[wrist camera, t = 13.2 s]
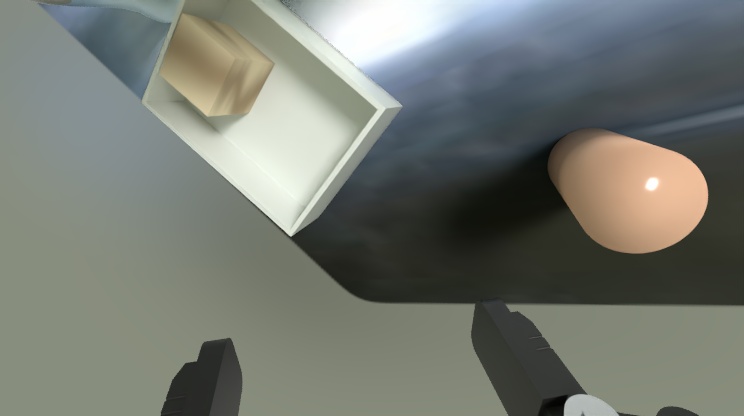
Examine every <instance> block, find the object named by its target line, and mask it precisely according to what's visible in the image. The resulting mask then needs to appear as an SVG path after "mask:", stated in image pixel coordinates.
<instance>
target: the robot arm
mask: <svg viewBox="0 0 744 416" xmlns="http://www.w3.org/2000/svg"><path fill="white" fill-rule="evenodd" d="M471 338H472V343H473V347H474V349H475V352H476V354H477V356H478V358H479V360H480V362H481V363H482V365H483V367H484V369H485V371H486V373H487V375H488V377H489V379H490V381H491V383H492V385H493V387H494V389H495V390H496V392H497V394H498V396H499V398H500V400H501V402H502V404H503V406H504V408H505V410H506V411H507V414H508V415H509V416H637V415H630V414H623V413H618V412H616V411H615V410H613V408H611V407H610V406H609V405H608V404H606V403H605V402H603V401H602V400H600V399H598V398H595V397H593V396H589V395H588V394H587V393H586V392H585V391H584V390H583V389H582V387H581V386H580V385H579V384H578V382H577V381H576V379H575V378H574V377H573V376H572V374H571V373H570V372H569V370H568V369H567V368H566V367H565V365H564V364H563V362H562V361H561V360H560V358H559V357H558V356H557V354H556V353H555V352H554V350H553V349H551V348H550V345H549V344H548V342H547V341H546V340H545V338H543V337H542V334H541V333H540V332H539V330H538V329H537V328H536V326H535V325H534V324H533V323H532V322H531V321H530V320H529V319H527V318H526V317H525V316H523V315H522V314H521V313H519V312H518V311H517V312H510V311H509V309H508V308H507V306H506V305H505V303H504V302H503V301H502V300H501V299H500V298H495V299H488V300H482V301H477V302H476V304H475V311H474V317H473V324H472V331H471ZM241 392H242V372H241V368H240V365H239V361H238V358H237V355H236V352H235V349H234V345H233V342H232V340H231V339H230V338H227V339H221V340H214V341H207V342H204V343H203V344H202V347H201V350H200V353H199V356H198V360H197V362H190V363H185V365H184V366H183V367H182V368H181V370H180V371H179V372H178V373H177V375H176V376H175V377H174V379H173V380H172V383H171V386H170V389H169V391H168V394H167V397H166V401H165V403H164V405H163V408H162V411H161V416H238V411H239V405H240V399H241ZM656 416H698V415H697V414H695V413H693V412H691V411H689V410H686V409H683V408H679V407H673V406H672V407H664V408H662V409H660V411H659V412H658V413H657V415H656Z"/></svg>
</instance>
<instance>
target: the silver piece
mask: <svg viewBox="0 0 744 416" xmlns="http://www.w3.org/2000/svg"><path fill="white" fill-rule="evenodd" d="M26 1H31V2H37V3H43V4H49V5H61V6H75V7H108V8H121V9H127V10H131V11H135V12H137V13H140V14H142V15H144V16H147V17H149V18H151V19H153V20H156V21H158V22H162V23H172V20H173V18H174V15H175V12H176V10H177V7H178V5H179V2H180V0H26Z"/></svg>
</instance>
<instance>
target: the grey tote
mask: <svg viewBox="0 0 744 416" xmlns="http://www.w3.org/2000/svg"><path fill="white" fill-rule="evenodd" d="M182 13H185V14H189V15H192V16H196V17H200V18H204V19H208V20H212V21H215V22H219V23H223V24H227V25H230V26H232V27H233V28H234V29H235V30H236V31H237V32H239V33H240V34H241V35H242V36H243V37H244V38H246V39H247V40H248V41H249V42H250V43H252V44H253V45H254V46H255V47H256V48H257V49H259V50H260V51H261V52H262V53H263V54H264V55H266V56H267V57H268V58H269V59H270V60H271V61H273V62H274V63H275V65H274V67H273V69H272V71H271V73H270V74H269V76H268V78H267V80H266V82H265V84H264V86H263V88H262V89H261V91H260V93H259V95H258V97H257V99H256V101H255V103H254V104H253V106H252V108H251V110H250V112H249V113H245V114H232V115H220V116H206V115H205V114H204V113H203V112H202V111H201V110H200V109H198V108H197V107H196V106H195V105H194V104H193V103H191V102H190V101H189V100H188V99H187V98H186V97H185V96H183V95H182V94H181V93H180V92H179V91H178V90H177V89H175V88H174V87H173V86H172V85H171V84H170V83H169V82H167V81H166V80H165V79H164V78H163V77H162V76H161V75H159V73H160V71H161V68H162V65H163V63H164V60H165V57H166V55H167V52H168V50H169V47H170V44H171V42H172V39H173V36H174V34H175V31H176V29H177V26H178V23H179V21H180V18H181V15H182ZM141 103H142V104H143V105H144V106H145V107H146V108H147V109H149V110H150V111H151V112H152V113H153V114H154V115H155V116H156V117H158V118H159V119H160V120H161V121H162V122H163V123H164V124H165V125H166V126H168V127H169V128H170V129H171V130H172V131H173V132H174V133H175V134H177V135H178V136H179V137H180V138H181V139H182V140H183V141H184V142H186V143H187V144H188V145H189V146H190V147H191V148H192V149H193V150H194V151H196V152H197V153H198V154H199V155H200V156H201V157H202V158H203V159H205V160H206V161H207V162H208V163H209V164H210V165H211V166H212V167H213V168H215V169H216V170H217V171H218V172H219V173H220V174H221V175H222V176H224V177H225V178H226V179H227V180H228V181H229V182H230V183H231V184H232V185H234V186H235V187H236V188H237V189H238V190H239V191H240V192H241V193H243V194H244V195H245V196H246V197H247V198H248V199H249V200H250V201H251V202H253V203H254V204H255V205H256V206H257V207H258V208H259V209H260V210H262V211H263V212H264V213H265V214H266V215H267V216H268V217H269V218H270V219H272V220H273V221H274V222H275V223H276V224H277V225H278V226H279V227H281V228H282V229H283V230H284V231H285V232H286V233H287V234H288V235H289V236H293V235H294V234H296V233H297V232H298V231H300V230H301V229H303V228H304V227H305V226H307V225H308V224H310V223H311V222H312V221H314V220H315V219H317V218H318V217H319V216H320V215H321V213H322V212H323V211H324V209H325V208H326V207H327V205H328V204H329V203H330V201H331V200H332V199H333V197H334V196H335V195H336V194H337V192H338V191H339V190H340V188H341V187H342V186H343V184H344V183H345V182H346V180H347V179H348V178H349V177H350V175H351V174H352V173H353V171H354V170H355V169H356V167H357V166H358V165H359V163H360V162H361V161H362V160H363V158H364V157H365V156H366V154H367V153H368V152H369V150H370V149H371V148H372V146H373V145H374V144H375V143H376V141H377V140H378V139H379V137H380V136H381V135H382V133H383V132H384V131H385V129H386V128H387V127H388V125H389V124H390V123H391V122H392V120H393V119H394V118H395V116H396V115H397V114H398V112H399V111H400V110H401V108H402V107H403V106H402V105H401V104H400V103H399V102H398V101H397V100H395V99H394V98H393V97H392V96H391V95H390V94H388V93H387V92H386V91H385V90H384V89H383V88H381V87H380V86H379V85H378V84H377V83H376V82H374V81H373V80H372V79H371V78H370V77H369V76H367V75H366V74H365V73H364V72H363V71H362V70H360V69H359V68H358V67H357V66H356V65H355V64H353V63H352V62H351V61H350V60H349V59H348V58H346V57H345V56H344V55H343V54H342V53H341V52H339V51H338V50H337V49H336V48H335V47H334V46H332V45H331V44H330V43H329V42H328V41H327V40H325V39H324V38H323V37H322V36H321V35H320V34H318V33H317V32H316V31H315V30H314V29H313V28H311V27H310V26H309V25H308V24H307V23H306V22H304V21H303V20H302V19H301V18H300V17H299V16H297V15H296V14H295V13H294V12H293V11H292V10H290V9H289V8H288V7H287V6H286V5H285V4H283V3H282V2H281V1H280V0H180V2H179V5H178V7H177V10H176V12H175V15H174V18H173V20H172V23H171V25H170V28H169V31H168V33H167V36H166V39H165V41H164V44H163V46H162V49H161V52H160V54H159V57H158V60H157V62H156V65H155V67H154V70H153V73H152V75H151V78H150V81H149V83H148V86H147V88H146V91H145V94H144V96H143V99H142V101H141Z"/></svg>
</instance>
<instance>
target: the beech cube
mask: <svg viewBox="0 0 744 416" xmlns="http://www.w3.org/2000/svg"><path fill="white" fill-rule="evenodd" d="M274 65H275V63H274V62H273V61H271V60H270V59H269V58H268V57H267V56H266V55H264V54H263V53H262V52H261V51H260V50H259V49H257V48H256V47H255V46H254V45H253V44H252V43H250V42H249V41H248V40H247V39H246V38H244V37H243V36H242V35H241V34H240V33H239V32H237V31H236V30H235V29H234V28H233V27H232V26H230V25H227V24H223V23H219V22H215V21H212V20H208V19H204V18H200V17H196V16H192V15H189V14H185V13H182V15H181V18H180V21H179V23H178V26H177V29H176V31H175V34H174V36H173V39H172V42H171V44H170V47H169V50H168V52H167V55H166V57H165V60H164V63H163V65H162V68H161V71H160V73H159V75H161V76H162V77H163V78H164V79H165V80H166V81H167V82H169V83H170V84H171V85H172V86H173V87H174V88H175V89H177V90H178V91H179V92H180V93H181V94H182V95H183V96H185V97H186V98H187V99H188V100H189V101H190V102H191V103H193V104H194V105H195V106H196V107H197V108H198V109H200V110H201V111H202V112H203V113H204V114H205V115H206V116H220V115H232V114H245V113H249V112H250V110H251V108H252V106H253V104H254V103H255V101H256V99H257V97H258V95H259V93H260V91H261V89H262V88H263V86H264V84H265V82H266V80H267V78H268V76H269V74H270V73H271V71H272V69H273V67H274Z"/></svg>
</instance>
